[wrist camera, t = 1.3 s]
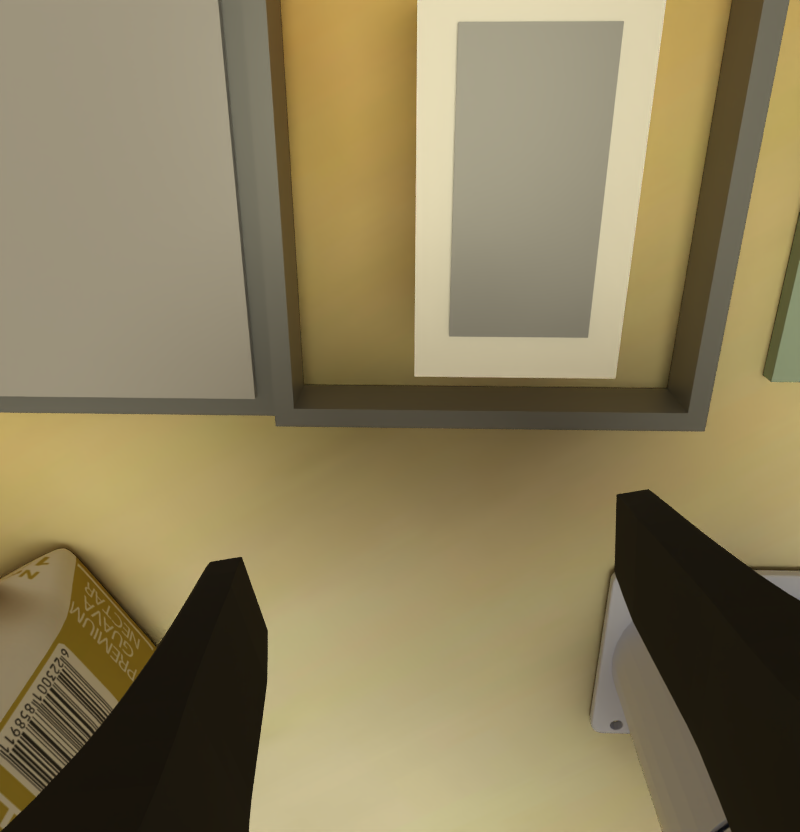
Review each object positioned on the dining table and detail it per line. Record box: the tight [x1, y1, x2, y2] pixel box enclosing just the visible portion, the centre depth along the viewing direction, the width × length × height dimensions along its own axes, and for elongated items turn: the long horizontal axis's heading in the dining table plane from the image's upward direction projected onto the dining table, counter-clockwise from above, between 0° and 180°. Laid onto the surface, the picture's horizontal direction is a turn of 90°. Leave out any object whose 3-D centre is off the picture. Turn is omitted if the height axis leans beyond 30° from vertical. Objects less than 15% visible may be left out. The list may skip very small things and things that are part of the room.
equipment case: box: [0, 0, 789, 431], centre depth 20 cm, size 23×16×2 cm
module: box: [414, 0, 666, 379], centre depth 17 cm, size 4×8×7 cm, turn 0°
